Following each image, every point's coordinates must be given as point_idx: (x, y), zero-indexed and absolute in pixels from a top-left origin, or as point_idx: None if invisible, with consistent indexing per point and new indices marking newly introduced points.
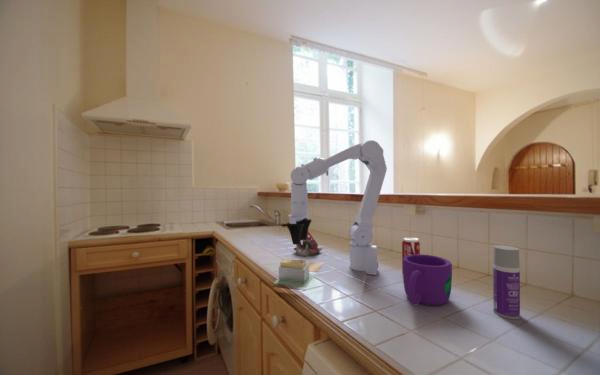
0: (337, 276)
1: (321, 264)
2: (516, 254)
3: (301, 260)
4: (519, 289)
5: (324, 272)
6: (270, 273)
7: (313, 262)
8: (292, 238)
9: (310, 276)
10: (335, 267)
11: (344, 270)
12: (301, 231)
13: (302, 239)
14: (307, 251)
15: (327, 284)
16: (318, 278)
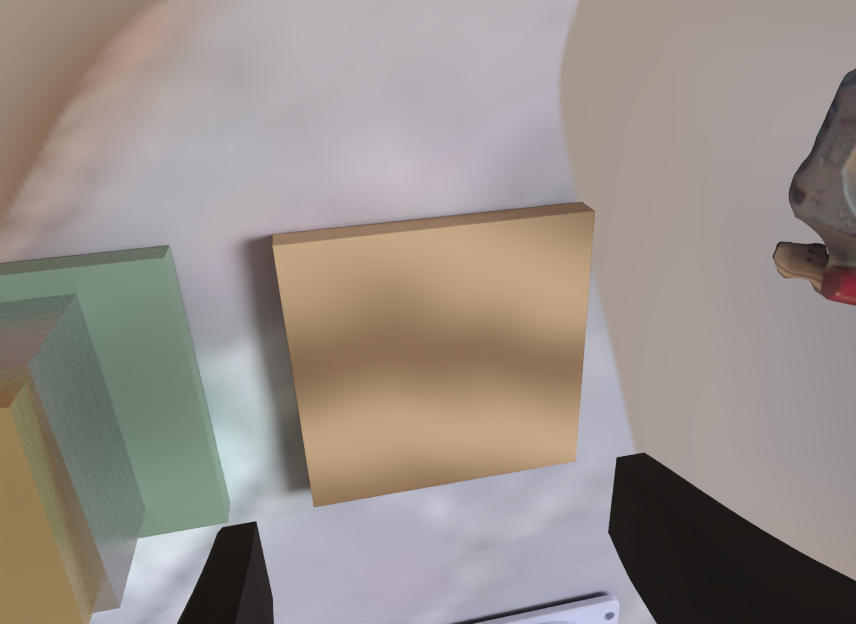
0: (349, 603)
1: (532, 456)
2: None
3: (62, 590)
4: None
5: (401, 505)
6: (127, 44)
7: (575, 373)
8: (190, 620)
9: (175, 507)
10: (549, 525)
11: (497, 593)
12: (706, 589)
13: (613, 493)
14: (846, 238)
15: (153, 612)
16: (242, 521)
